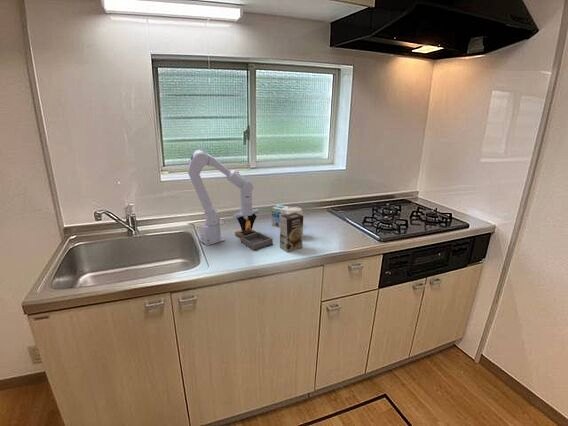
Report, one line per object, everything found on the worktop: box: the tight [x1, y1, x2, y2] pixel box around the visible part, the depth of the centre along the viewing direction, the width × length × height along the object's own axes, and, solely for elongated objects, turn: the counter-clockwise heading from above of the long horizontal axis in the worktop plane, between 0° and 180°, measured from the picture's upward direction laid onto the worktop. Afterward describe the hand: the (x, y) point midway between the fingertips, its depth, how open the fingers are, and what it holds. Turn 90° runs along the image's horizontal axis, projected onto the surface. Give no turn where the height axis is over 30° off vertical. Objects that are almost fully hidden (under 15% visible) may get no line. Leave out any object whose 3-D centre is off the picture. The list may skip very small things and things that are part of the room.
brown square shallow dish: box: [234, 228, 259, 239], centre depth 162 cm, size 9×9×2 cm
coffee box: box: [279, 213, 304, 253], centre depth 147 cm, size 9×6×16 cm
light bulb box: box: [271, 204, 291, 228], centre depth 175 cm, size 11×7×11 cm, turn 62°
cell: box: [243, 217, 251, 235], centre depth 161 cm, size 4×4×9 cm
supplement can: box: [286, 206, 304, 216], centre depth 160 cm, size 8×8×15 cm
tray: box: [240, 231, 273, 251], centre depth 153 cm, size 11×11×3 cm
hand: (246, 229), depth 161 cm, fingers closed on cell, 4 cm apart
